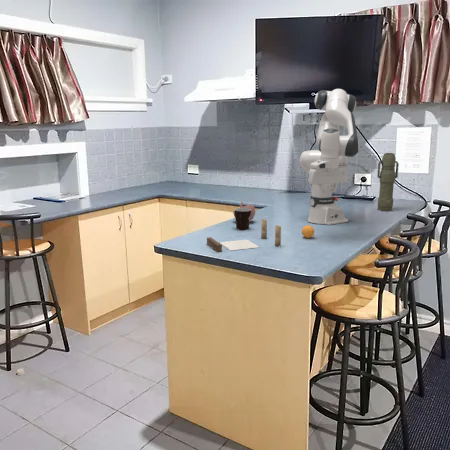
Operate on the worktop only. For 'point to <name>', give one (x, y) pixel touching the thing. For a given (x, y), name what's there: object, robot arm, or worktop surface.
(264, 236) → the post
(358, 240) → the worktop surface
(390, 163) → the thermos
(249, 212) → the coffee mug
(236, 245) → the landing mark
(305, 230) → the ball
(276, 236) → the post
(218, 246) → the stopper wall
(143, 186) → the worktop surface
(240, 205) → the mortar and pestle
